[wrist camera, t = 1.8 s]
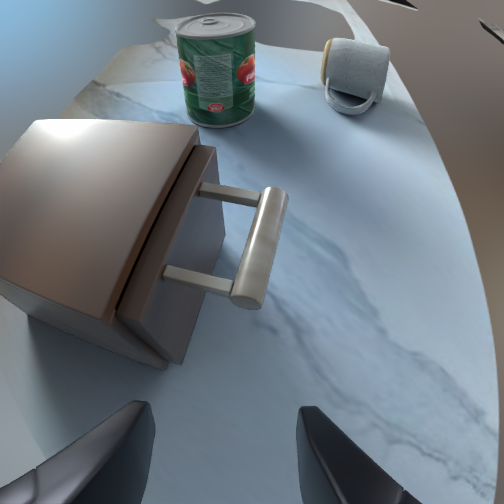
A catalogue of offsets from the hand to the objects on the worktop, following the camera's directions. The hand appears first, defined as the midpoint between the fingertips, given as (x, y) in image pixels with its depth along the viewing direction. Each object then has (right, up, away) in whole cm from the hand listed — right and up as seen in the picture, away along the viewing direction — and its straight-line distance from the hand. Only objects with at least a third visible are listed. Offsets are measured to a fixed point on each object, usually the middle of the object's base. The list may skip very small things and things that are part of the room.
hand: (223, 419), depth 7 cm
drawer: (-6, +2, +16) cm, 17 cm away
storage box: (-10, +2, +17) cm, 20 cm away
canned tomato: (-3, +21, +28) cm, 35 cm away
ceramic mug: (+14, +24, +30) cm, 41 cm away
